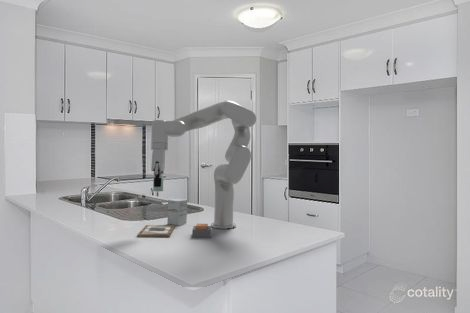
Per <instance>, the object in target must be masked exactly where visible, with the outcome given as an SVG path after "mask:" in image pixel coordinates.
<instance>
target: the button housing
mask: <svg viewBox="0 0 470 313" xmlns="http://www.w3.org/2000/svg"><path fill="white" fill-rule="evenodd" d="M192 227H193V228H192V236H191V237H192V238H193V239H194V238H195V239H198V238H199V239H211V238H212V226H211V225H208V229H196V225H193V226H192Z"/></svg>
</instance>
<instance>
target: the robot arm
mask: <svg viewBox="0 0 470 313" xmlns="http://www.w3.org/2000/svg"><path fill="white" fill-rule="evenodd" d="M225 119H226V120H227V119H230V120H231V124H232V126H233V128H234V135H233V136H232V139H231V141H230V143H229V146H228V148H227V149H226V152H225V155H224V158H225V161H226V162H227V163H228V164H227V163H223V164H219V165H217V166H216V167H215V169H214V171H213V180H214V210H213V211H214V213H213V214H214V218H213V219H214V221H213V222H211V224H210V226H211V228H213V229H221V230H225V229H227V228H230V229H234V228H236V227H237V225H236V223H234V196H235V194H234V193H235V192H234V190H235V188H234V185H236V184H238V183H239V182H240V181H241V180H242V178H243V176H245V173H246V171H247V168H248V167H249V165H250V163H251V159H252V152H251V150H250V149H249V147H248V145H249V144H250V141H251V131H250V128H251V127H253V126H254V125H255V124H256V122H257V116H256V113H255V112H254V111H252V110H251V109H249V108H247V107H245V106H242V105H241V104H238V103H237V102H235V101H232V100H224V101H220V102H217V103H216V104H213V105H210V106H207V107H204V108H202V109H199V110H197V111H194V112H192V113H189V114H187V115H185V116H181V117H179V118H176V119H173V120H165V119H164V120H163V119H153V120H152V122H151V135H150V136H151V138H150V139H151V141H150V142H151V145H150V150H151V151H152V154H151V167H150V169H151V170H150V171H151V172H153V185H154V187H161V171H163V169H164V170H165V168H166V167H165V166H166V151H168V149H169V147H168V146H169V144H168V143H169V137H171V138H174V137H175V138H176V137H177V138H178V137H181V136H183V135H184V134H186V132H189V131H193V130H196V129H202V128H205V127H208V126H210V125H213V124H215V123H217V122H221V121H223V120H225ZM154 170H155V173H154ZM158 170H160V171H158ZM235 226H236V227H235ZM233 227H234V228H233ZM227 230H228V229H227Z"/></svg>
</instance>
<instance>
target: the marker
mask: <svg viewBox="0 0 470 313" xmlns="http://www.w3.org/2000/svg"><path fill="white" fill-rule="evenodd" d="M158 171H160V170H158ZM164 171H165V169H163V171H161V187H154V184H152V185H153V186H152V187H153V190H152V191H153V192H164ZM154 173H155V170H154V171H153V174H154Z"/></svg>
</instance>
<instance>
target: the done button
mask: <svg viewBox="0 0 470 313" xmlns="http://www.w3.org/2000/svg"><path fill="white" fill-rule="evenodd" d="M195 226H196V229H208V226H209V225H208V223H196V225H195Z"/></svg>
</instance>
